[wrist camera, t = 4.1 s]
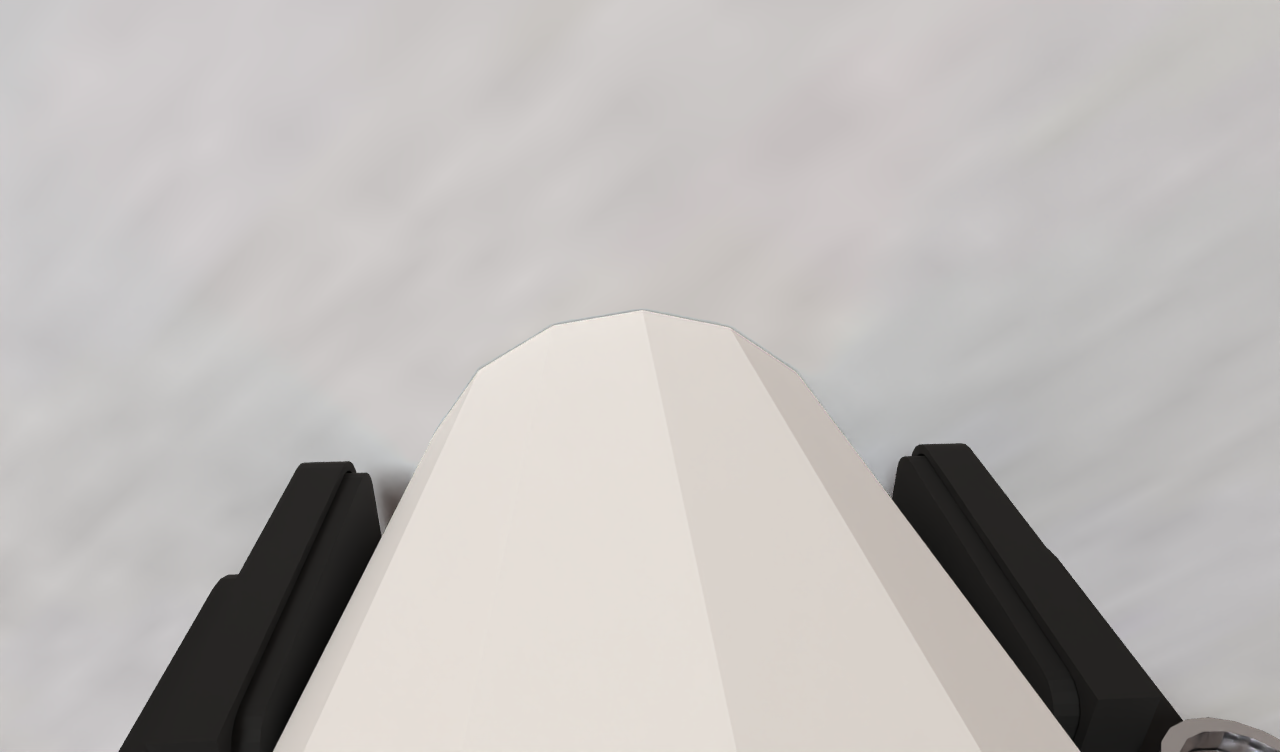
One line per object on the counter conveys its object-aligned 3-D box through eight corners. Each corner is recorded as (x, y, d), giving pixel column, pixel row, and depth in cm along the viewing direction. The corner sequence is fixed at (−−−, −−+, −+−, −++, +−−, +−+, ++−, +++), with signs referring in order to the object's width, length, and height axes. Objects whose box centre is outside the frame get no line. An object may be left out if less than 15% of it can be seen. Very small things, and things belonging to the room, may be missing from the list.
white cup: (624, 748, 14) (657, 1425, 7) (266, 503, 11) (-144, 1220, 5) (981, 501, 12) (1428, 1127, 6) (650, 137, 9) (786, 539, 3)
